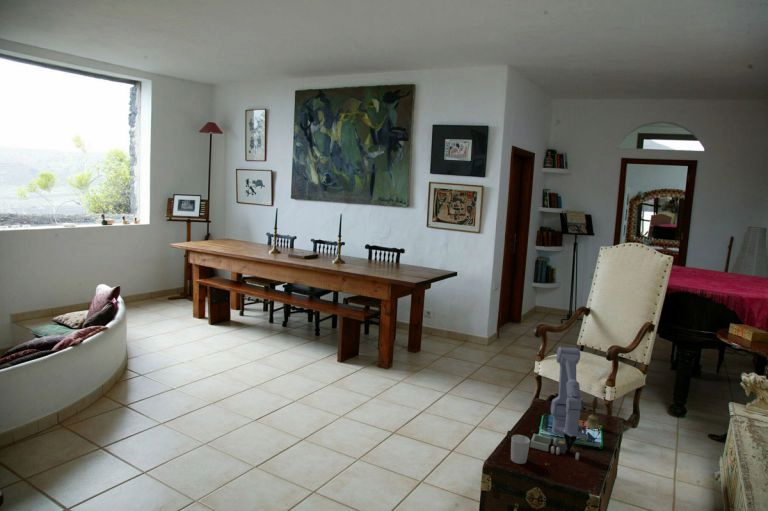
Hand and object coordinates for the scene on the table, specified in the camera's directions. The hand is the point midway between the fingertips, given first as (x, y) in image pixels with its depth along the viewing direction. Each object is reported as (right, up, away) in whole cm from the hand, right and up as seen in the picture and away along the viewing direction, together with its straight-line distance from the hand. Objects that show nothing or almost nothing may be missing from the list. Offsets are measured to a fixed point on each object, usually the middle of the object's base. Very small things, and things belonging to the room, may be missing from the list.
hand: (568, 449), depth 242 cm
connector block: (-3, -1, +2) cm, 4 cm away
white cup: (-25, -1, -9) cm, 27 cm away
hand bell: (+22, +1, +28) cm, 36 cm away
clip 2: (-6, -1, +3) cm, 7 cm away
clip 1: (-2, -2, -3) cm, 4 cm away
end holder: (-11, 0, +5) cm, 12 cm away
